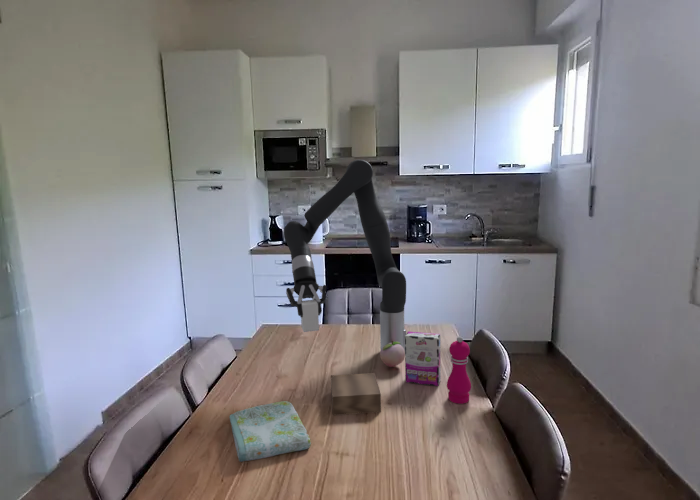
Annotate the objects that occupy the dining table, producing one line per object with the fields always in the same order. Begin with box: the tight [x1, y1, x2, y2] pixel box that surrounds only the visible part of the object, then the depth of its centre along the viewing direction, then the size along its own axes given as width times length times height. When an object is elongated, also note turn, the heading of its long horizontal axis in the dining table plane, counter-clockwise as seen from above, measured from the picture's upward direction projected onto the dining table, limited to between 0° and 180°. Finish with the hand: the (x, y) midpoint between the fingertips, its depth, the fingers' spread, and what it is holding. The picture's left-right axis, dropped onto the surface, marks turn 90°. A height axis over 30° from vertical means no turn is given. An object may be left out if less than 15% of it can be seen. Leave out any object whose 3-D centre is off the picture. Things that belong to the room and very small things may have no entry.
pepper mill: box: [446, 336, 472, 405], centre depth 136 cm, size 7×7×20 cm
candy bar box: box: [404, 331, 442, 387], centre depth 148 cm, size 11×5×16 cm, turn 71°
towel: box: [229, 400, 312, 463], centre depth 120 cm, size 18×21×5 cm
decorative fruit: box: [379, 341, 405, 368], centre depth 160 cm, size 9×8×10 cm
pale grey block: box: [300, 299, 320, 333], centre depth 147 cm, size 5×5×9 cm
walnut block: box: [330, 372, 382, 416], centre depth 137 cm, size 14×14×6 cm
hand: (310, 315), depth 145 cm, fingers closed on pale grey block, 5 cm apart
